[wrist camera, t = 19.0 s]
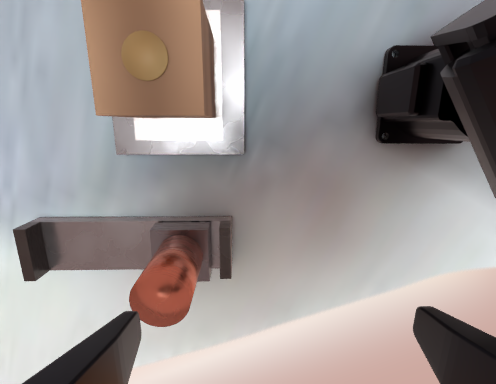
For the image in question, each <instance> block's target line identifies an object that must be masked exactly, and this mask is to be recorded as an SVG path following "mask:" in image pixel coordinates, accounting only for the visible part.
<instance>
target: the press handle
mask: <svg viewBox="0 0 496 384" xmlns="http://www.w3.org/2000/svg"><path fill="white" fill-rule="evenodd" d="M149 231H150V242H151V253H152V259H151V260H150V262H149V263H148V265H147V266H146V268H145V269H144V271H143V272H142V274H141V275H140V277H139V278H138V280H137V281H136V283H135V284H134V286H133V287H132V289H131V292H130V296H129V302H130V306H131V309H132V311H137V312H138V313H139V316H140V320H141V321H143V322H145V323H147V324H149V325H152V326H157V327H167V326H171V325H174V324H176V323H178V322H180V321H181V320H182V319H183V318H184V317H185V316H186V315H187V313H188V311H189V308H190V305H191V301H192V297H193V294H194V290H195V287H196V283H197V281H210V277H211V271H212V264H211V235H210V222H161V223H155V224H154V225H153V227H152V228H151V229H150V230H149Z"/></svg>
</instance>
